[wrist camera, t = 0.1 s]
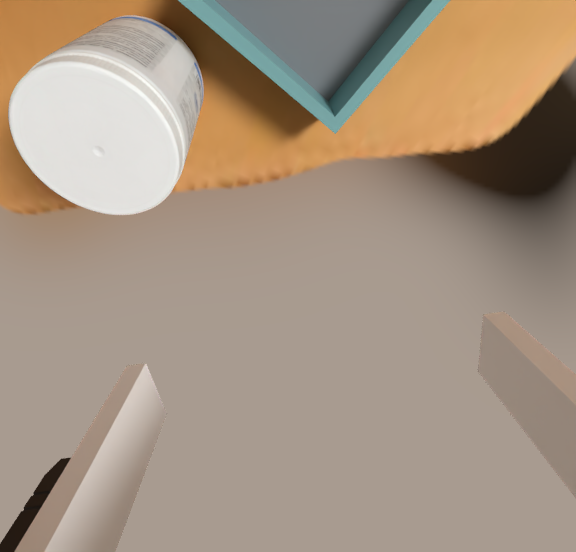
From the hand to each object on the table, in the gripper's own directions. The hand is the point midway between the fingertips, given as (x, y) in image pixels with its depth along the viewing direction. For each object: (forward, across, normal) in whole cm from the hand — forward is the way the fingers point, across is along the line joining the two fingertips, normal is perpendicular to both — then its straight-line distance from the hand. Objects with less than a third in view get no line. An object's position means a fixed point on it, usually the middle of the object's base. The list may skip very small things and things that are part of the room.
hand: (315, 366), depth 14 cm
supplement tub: (+25, -11, +14) cm, 31 cm away
